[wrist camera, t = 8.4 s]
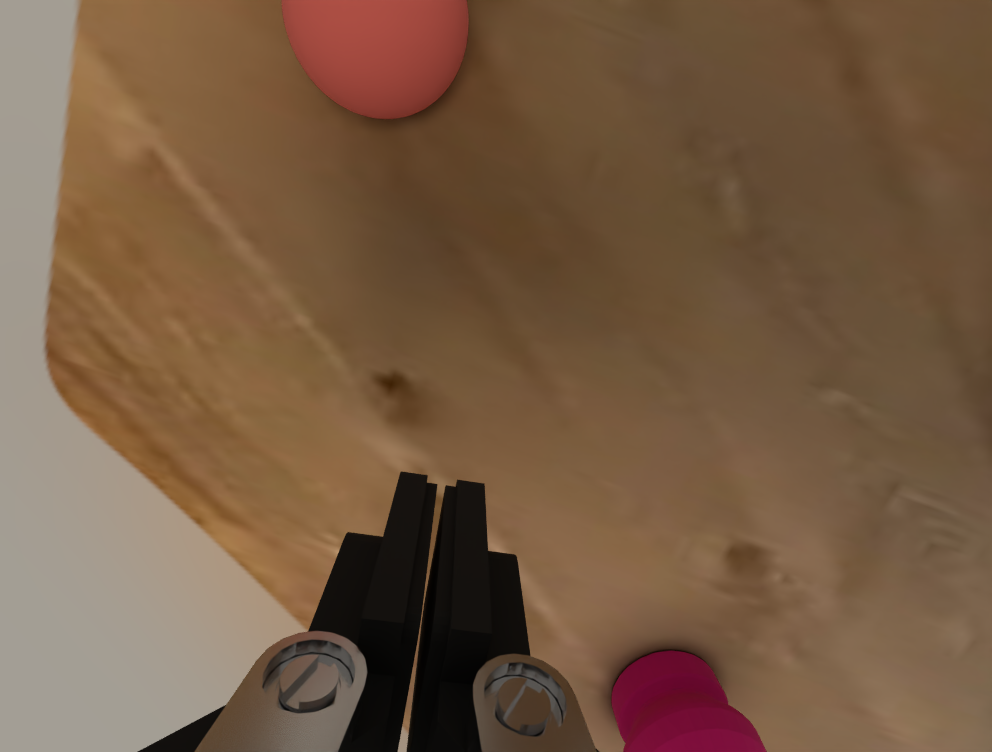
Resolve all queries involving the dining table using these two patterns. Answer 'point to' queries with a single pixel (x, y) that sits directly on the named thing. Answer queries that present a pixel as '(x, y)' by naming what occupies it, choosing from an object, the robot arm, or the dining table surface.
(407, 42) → the ball
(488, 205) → the dining table surface
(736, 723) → the pepper mill
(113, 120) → the dining table surface
